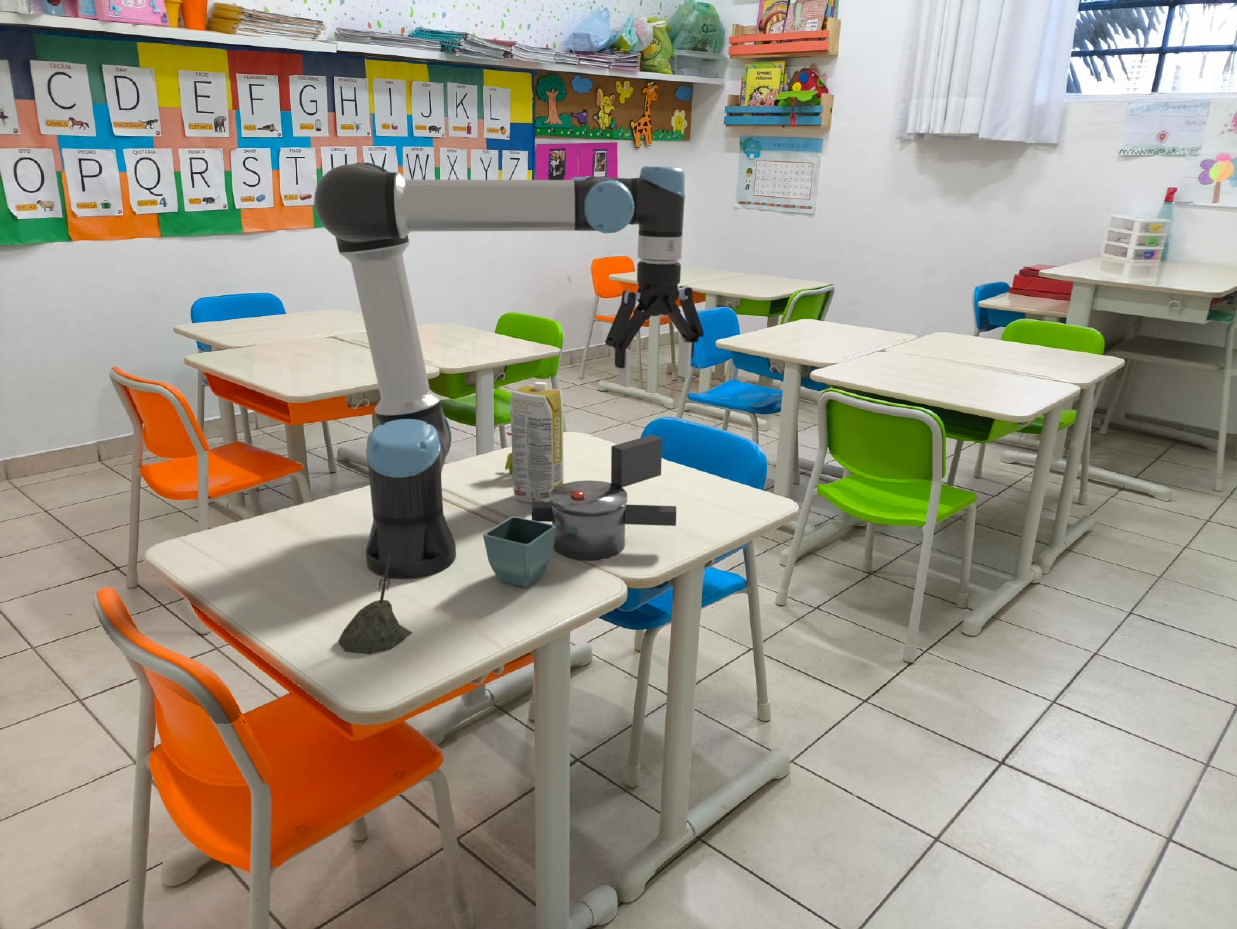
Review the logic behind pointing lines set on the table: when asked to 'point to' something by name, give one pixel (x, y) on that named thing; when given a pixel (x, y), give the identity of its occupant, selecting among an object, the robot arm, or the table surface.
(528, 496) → the juice carton
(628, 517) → the pot
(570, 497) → the lid
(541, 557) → the flower pot
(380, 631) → the sword in stone
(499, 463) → the table surface
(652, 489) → the table surface
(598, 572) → the table surface
